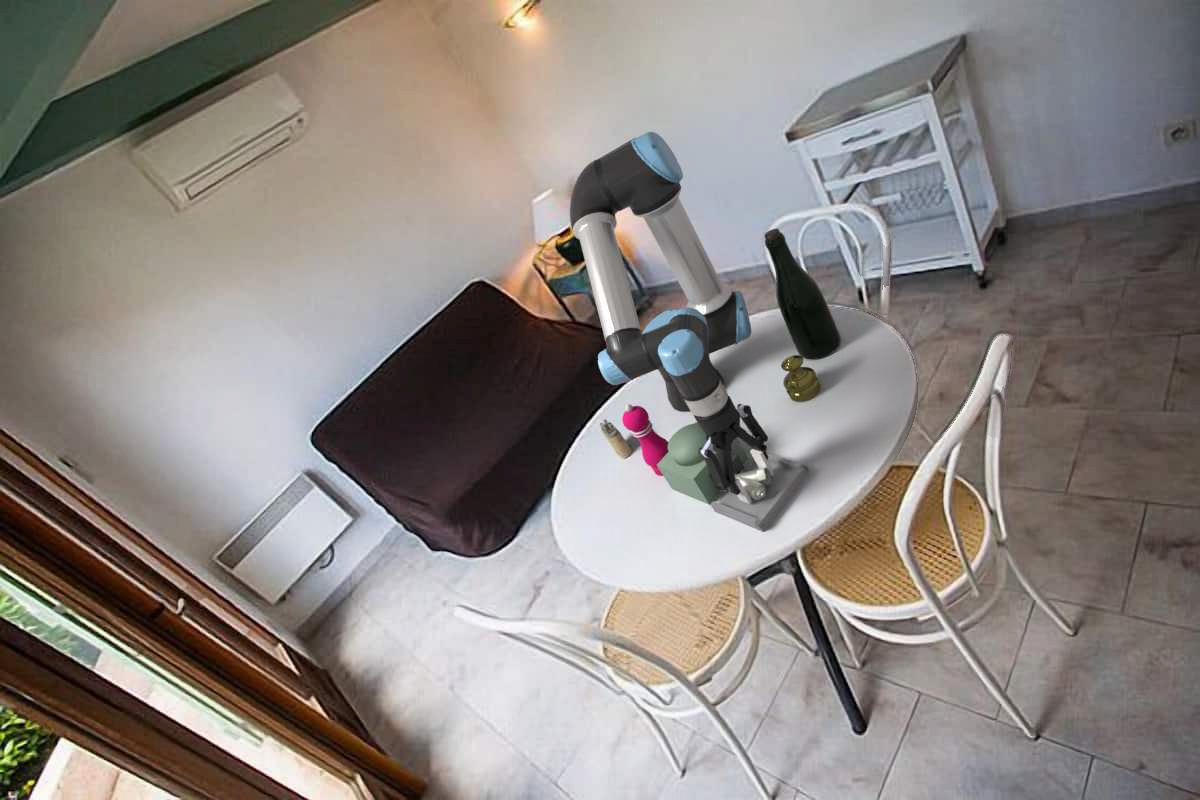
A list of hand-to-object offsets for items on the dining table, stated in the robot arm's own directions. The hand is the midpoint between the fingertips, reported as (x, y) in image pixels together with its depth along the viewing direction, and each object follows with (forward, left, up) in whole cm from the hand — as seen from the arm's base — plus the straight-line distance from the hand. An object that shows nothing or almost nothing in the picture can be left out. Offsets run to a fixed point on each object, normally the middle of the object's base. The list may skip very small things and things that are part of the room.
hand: (756, 486), depth 130 cm
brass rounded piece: (-8, +29, -2) cm, 30 cm away
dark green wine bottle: (-14, +44, -2) cm, 46 cm away
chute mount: (+1, 0, -1) cm, 2 cm away
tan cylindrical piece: (-44, -2, -2) cm, 44 cm away
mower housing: (-13, 0, -1) cm, 13 cm away
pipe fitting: (0, -1, -1) cm, 1 cm away
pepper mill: (-27, -2, -2) cm, 28 cm away
